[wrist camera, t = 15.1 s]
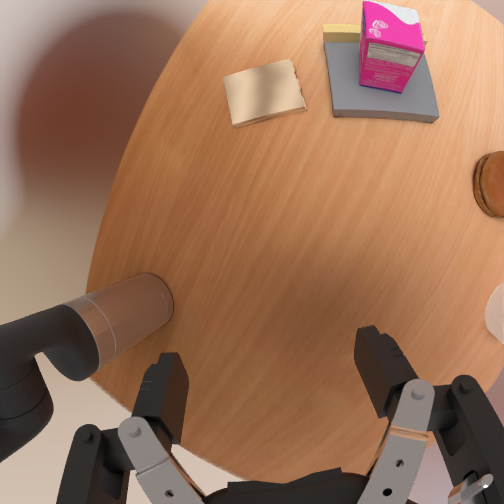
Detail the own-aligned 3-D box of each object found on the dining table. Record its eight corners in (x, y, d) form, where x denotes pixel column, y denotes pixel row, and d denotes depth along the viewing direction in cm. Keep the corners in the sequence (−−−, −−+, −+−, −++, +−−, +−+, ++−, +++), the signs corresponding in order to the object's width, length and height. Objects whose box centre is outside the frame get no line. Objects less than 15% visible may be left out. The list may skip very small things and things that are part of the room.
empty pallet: (236, 128, 35) (231, 124, 33) (226, 83, 34) (221, 77, 32) (307, 111, 32) (306, 106, 30) (293, 65, 32) (291, 58, 30)
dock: (333, 117, 31) (334, 102, 26) (323, 45, 29) (322, 24, 24) (431, 123, 28) (446, 111, 22) (415, 51, 26) (424, 33, 21)
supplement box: (356, 50, 26) (362, -3, 15) (400, 59, 25) (420, 10, 14) (357, 86, 27) (366, 36, 16) (402, 95, 26) (429, 51, 15)
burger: (474, 219, 28) (491, 221, 24) (466, 152, 27) (482, 146, 22) (518, 217, 25) (535, 219, 21) (511, 156, 24) (528, 152, 20)
